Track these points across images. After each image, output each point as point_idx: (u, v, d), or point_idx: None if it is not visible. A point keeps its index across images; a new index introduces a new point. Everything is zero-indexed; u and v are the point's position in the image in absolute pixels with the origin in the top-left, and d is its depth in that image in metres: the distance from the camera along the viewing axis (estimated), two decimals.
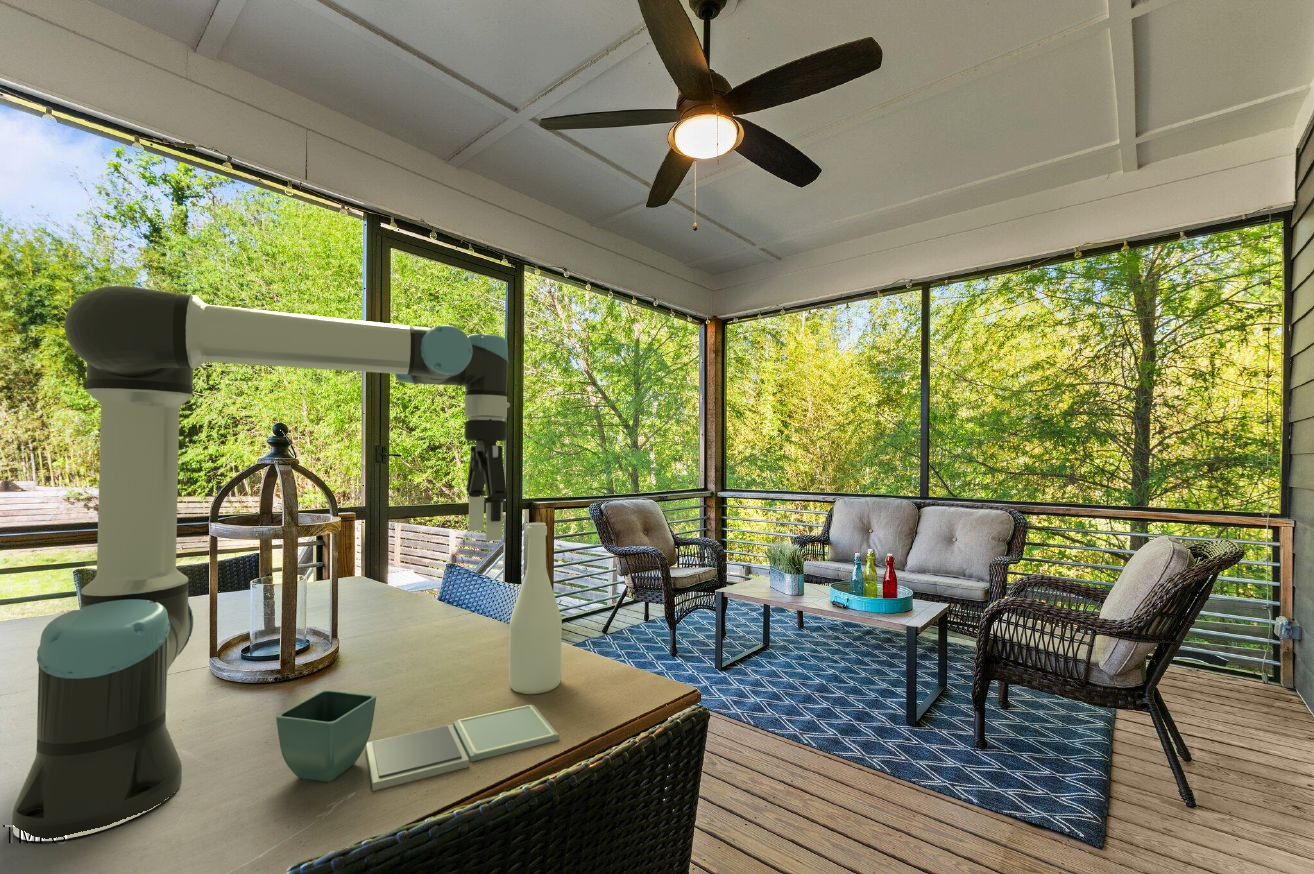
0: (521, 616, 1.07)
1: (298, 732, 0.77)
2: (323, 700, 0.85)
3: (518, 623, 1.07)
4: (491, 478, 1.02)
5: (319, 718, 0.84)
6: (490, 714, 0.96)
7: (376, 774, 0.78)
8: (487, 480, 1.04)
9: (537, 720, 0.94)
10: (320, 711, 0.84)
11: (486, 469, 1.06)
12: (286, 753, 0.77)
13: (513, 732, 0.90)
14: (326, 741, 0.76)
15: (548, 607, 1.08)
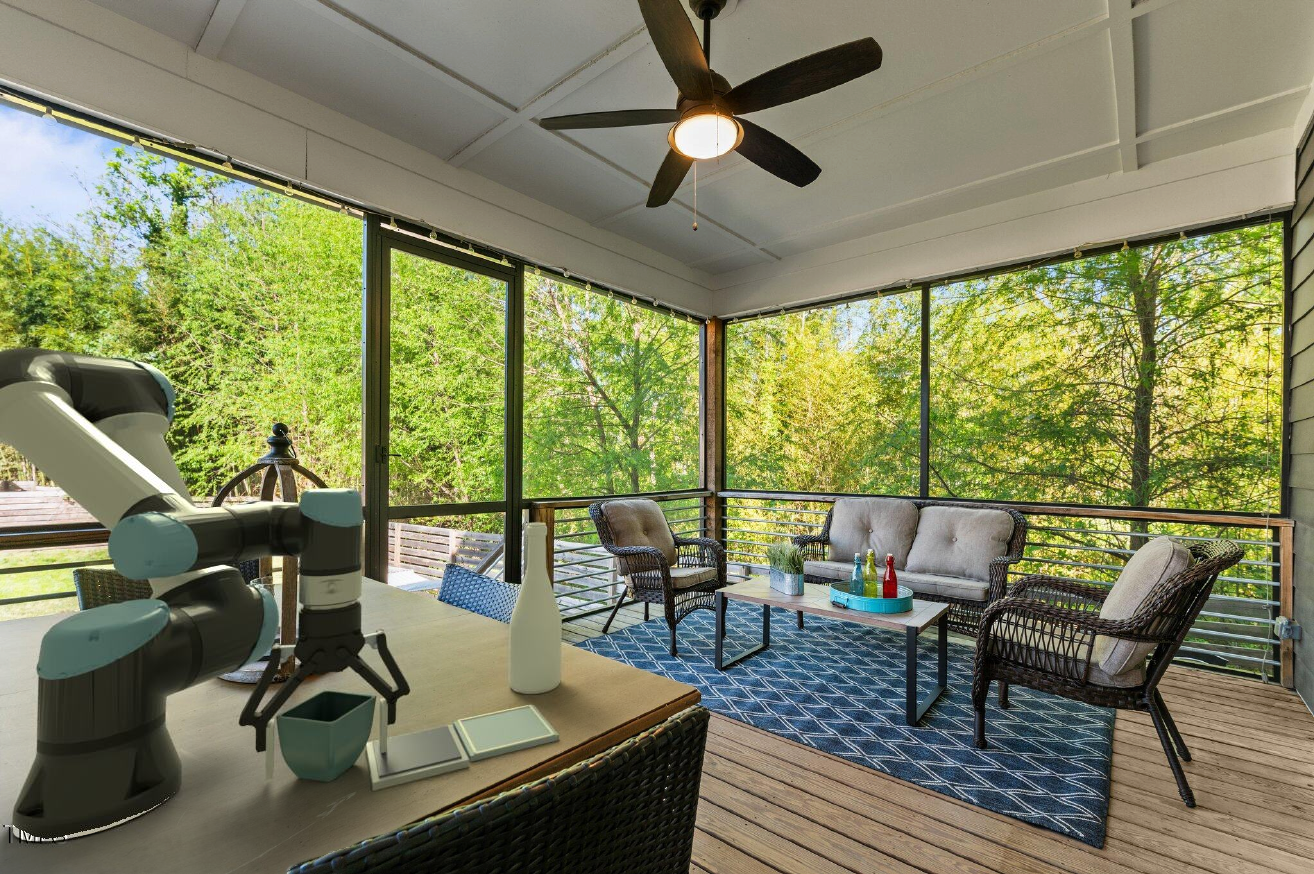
0: (521, 616, 1.07)
1: (298, 732, 0.77)
2: (323, 700, 0.85)
3: (518, 623, 1.07)
4: (254, 690, 0.77)
5: (319, 718, 0.84)
6: (490, 714, 0.96)
7: (376, 774, 0.78)
8: (279, 689, 0.79)
9: (537, 720, 0.94)
10: (320, 711, 0.84)
11: (293, 673, 0.79)
12: (286, 753, 0.77)
13: (513, 732, 0.90)
14: (326, 741, 0.76)
15: (548, 607, 1.08)
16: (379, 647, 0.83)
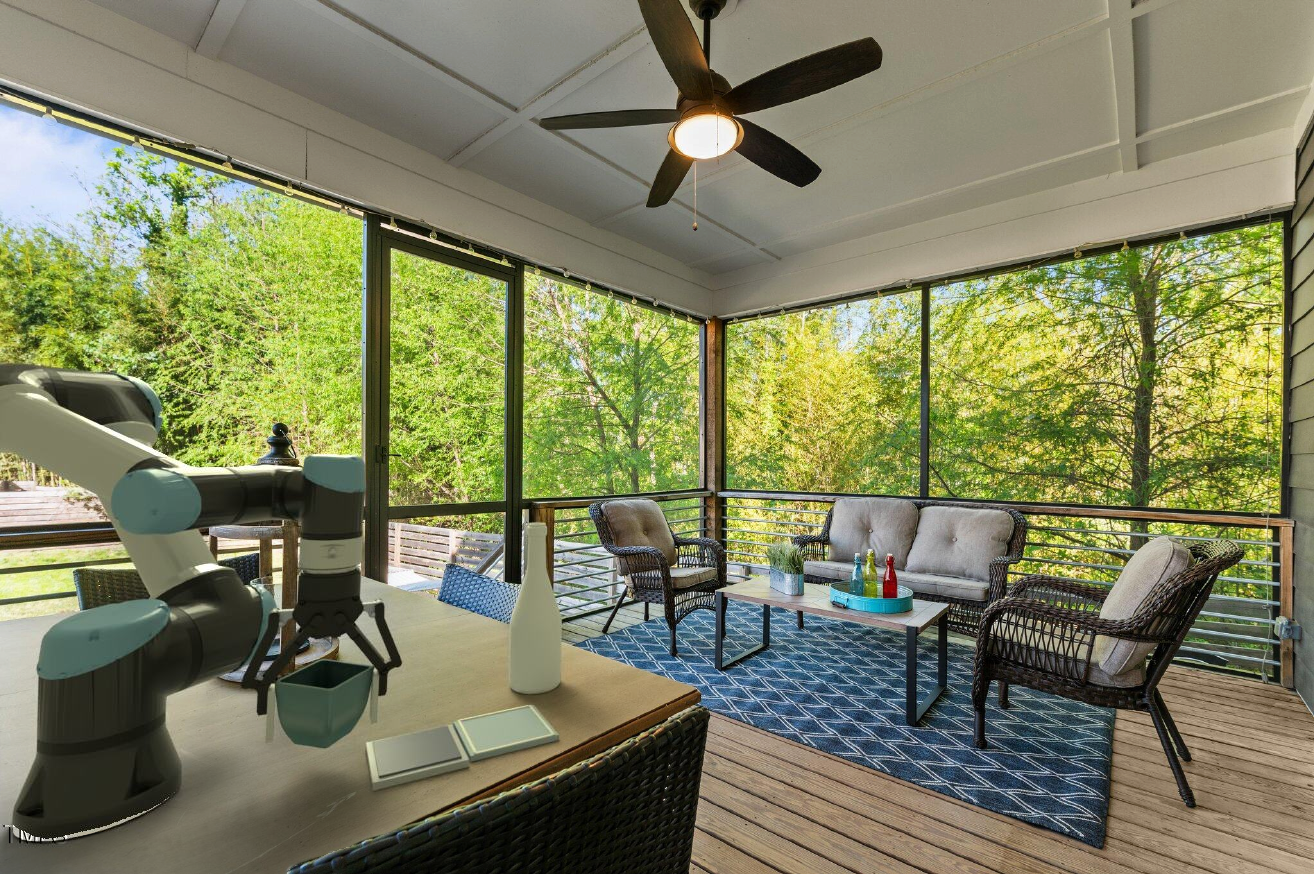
0: (521, 616, 1.07)
1: (296, 698, 0.77)
2: (320, 669, 0.85)
3: (518, 623, 1.07)
4: (255, 653, 0.78)
5: (316, 686, 0.84)
6: (490, 714, 0.96)
7: (376, 774, 0.78)
8: (280, 653, 0.79)
9: (537, 720, 0.94)
10: (317, 679, 0.85)
11: (293, 637, 0.80)
12: (283, 719, 0.78)
13: (513, 732, 0.90)
14: (324, 707, 0.76)
15: (548, 607, 1.08)
16: (376, 616, 0.83)
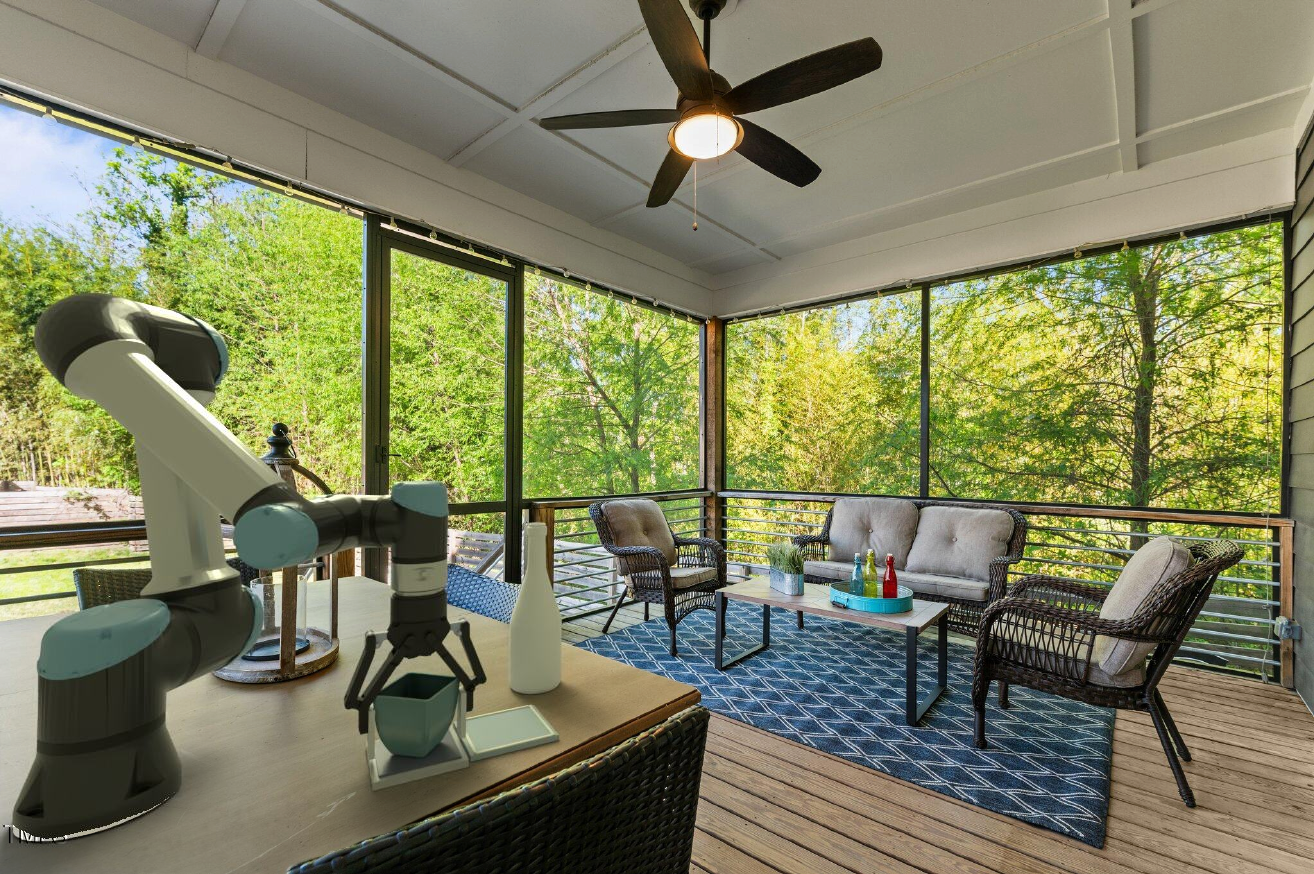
0: (521, 616, 1.07)
1: (394, 710, 0.80)
2: (408, 681, 0.89)
3: (518, 623, 1.07)
4: (353, 675, 0.81)
5: None
6: (490, 714, 0.96)
7: (376, 774, 0.78)
8: (376, 674, 0.83)
9: (537, 720, 0.94)
10: (406, 692, 0.88)
11: (387, 658, 0.83)
12: (381, 730, 0.81)
13: (513, 732, 0.90)
14: (422, 718, 0.80)
15: (548, 607, 1.08)
16: (463, 635, 0.87)
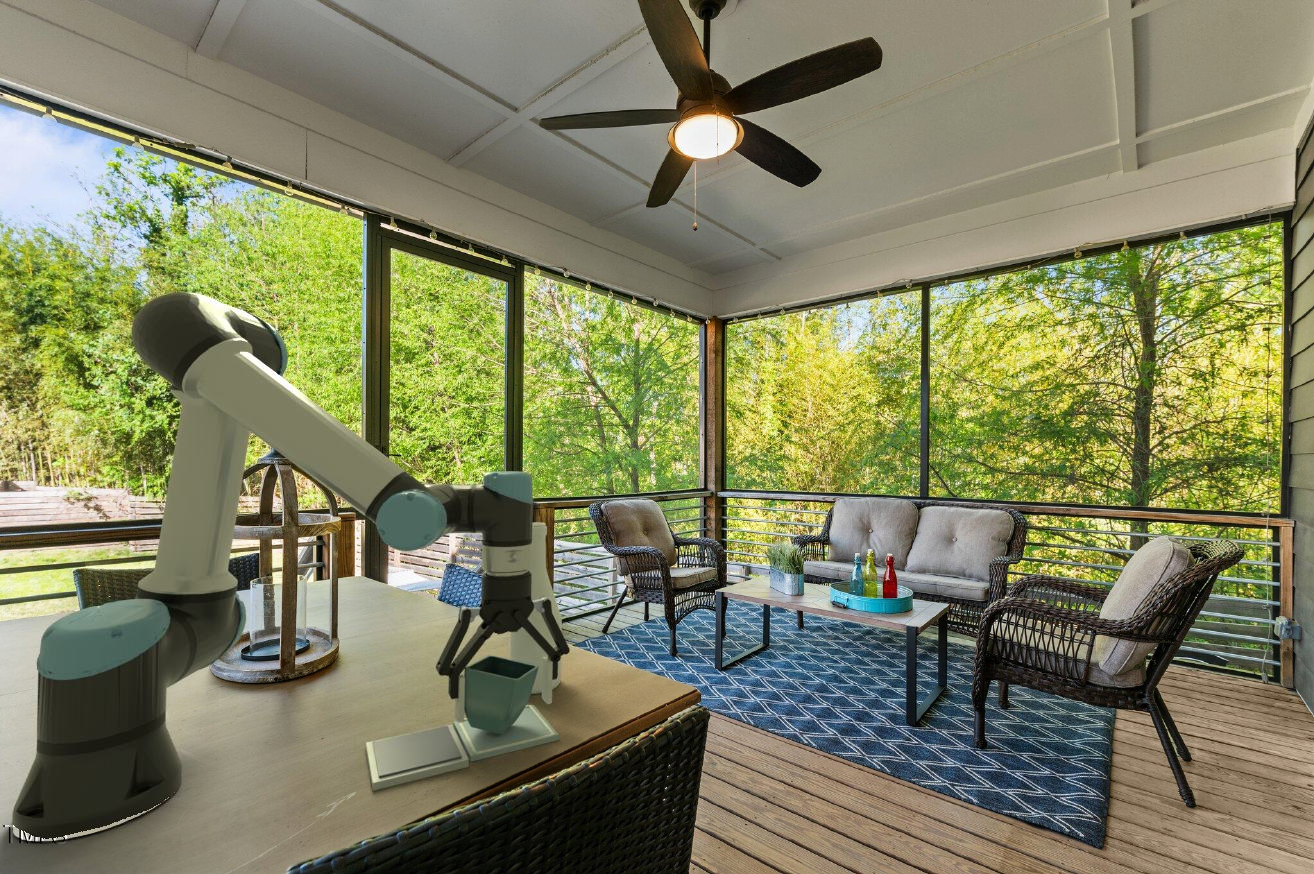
0: None
1: (484, 684, 0.88)
2: (489, 664, 0.96)
3: None
4: (446, 645, 0.89)
5: None
6: None
7: (376, 774, 0.78)
8: (465, 645, 0.90)
9: (537, 720, 0.94)
10: None
11: (476, 632, 0.91)
12: (468, 702, 0.88)
13: (513, 732, 0.90)
14: (509, 695, 0.87)
15: None
16: (546, 611, 0.94)
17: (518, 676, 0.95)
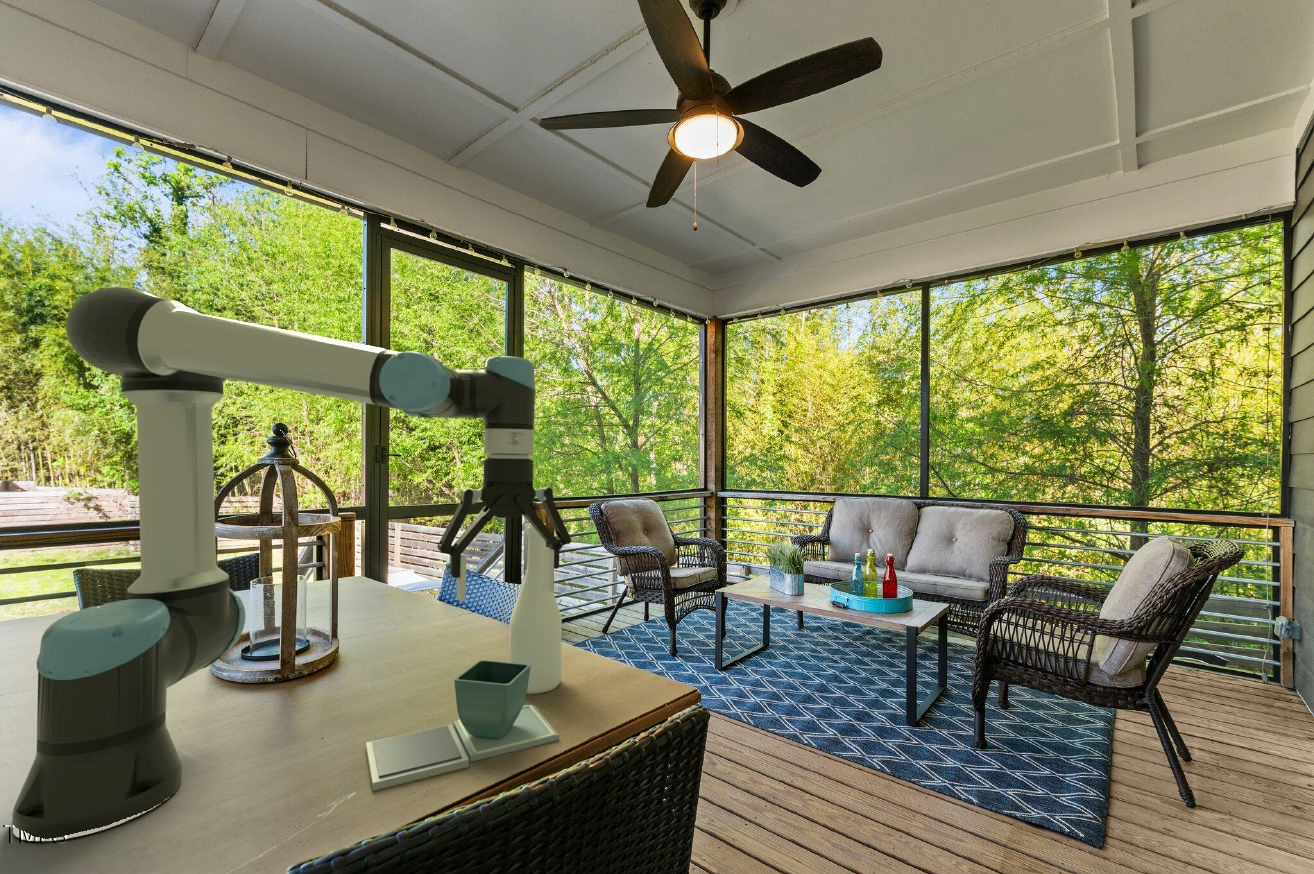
0: (521, 616, 1.07)
1: (475, 693, 0.87)
2: (481, 669, 0.95)
3: (518, 623, 1.07)
4: (448, 526, 0.89)
5: None
6: None
7: (376, 774, 0.78)
8: (467, 528, 0.90)
9: (537, 720, 0.94)
10: (479, 678, 0.94)
11: (478, 515, 0.91)
12: (463, 712, 0.88)
13: (513, 732, 0.90)
14: (502, 701, 0.86)
15: (548, 607, 1.08)
16: (547, 499, 0.94)
17: (512, 677, 0.95)
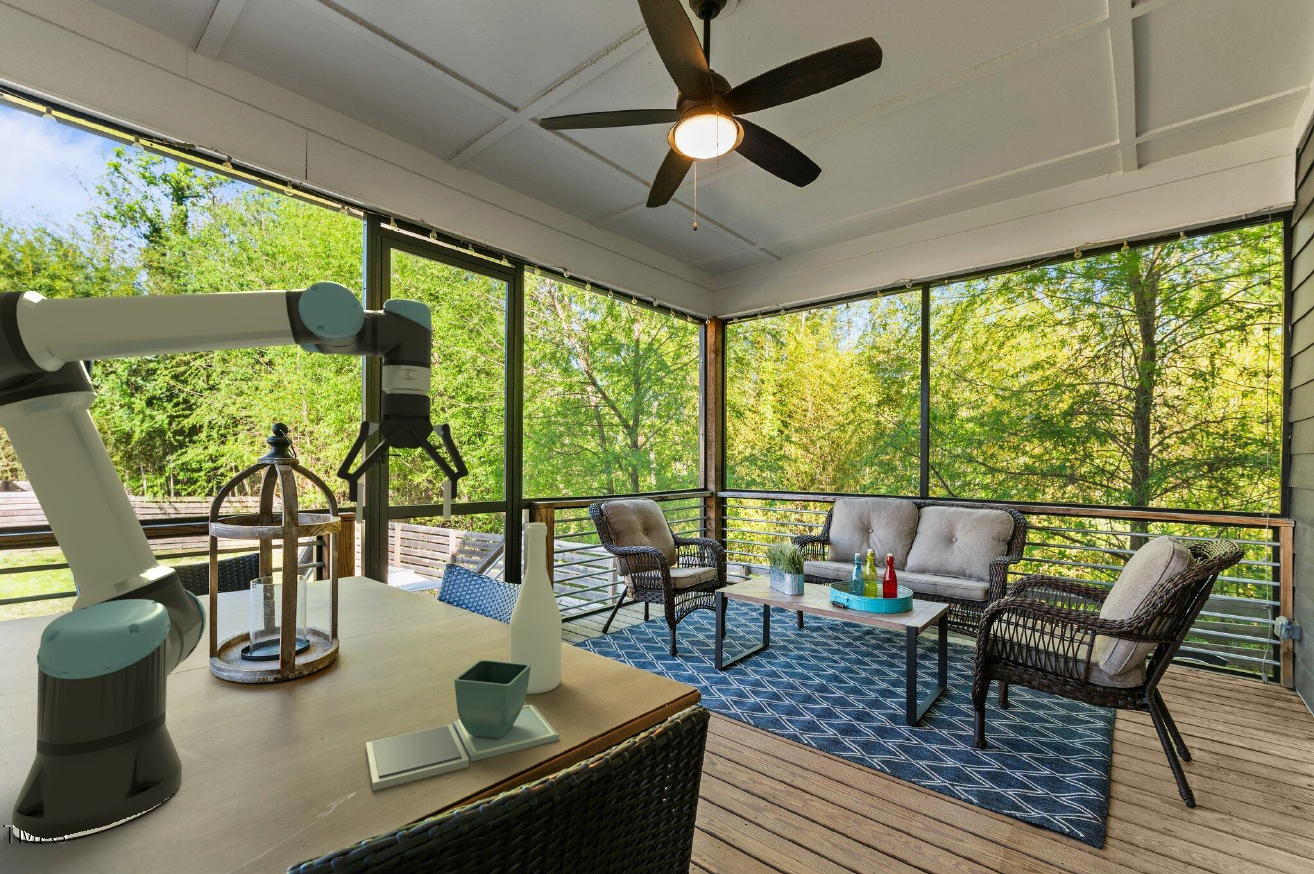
0: (521, 616, 1.07)
1: (475, 693, 0.87)
2: (481, 669, 0.95)
3: (518, 623, 1.07)
4: (347, 455, 0.97)
5: None
6: None
7: (376, 774, 0.78)
8: (366, 458, 0.98)
9: (537, 720, 0.94)
10: (479, 678, 0.94)
11: None
12: (463, 712, 0.88)
13: (513, 732, 0.90)
14: (502, 701, 0.86)
15: (548, 607, 1.08)
16: (444, 434, 1.02)
17: (512, 677, 0.94)
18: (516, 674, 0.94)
